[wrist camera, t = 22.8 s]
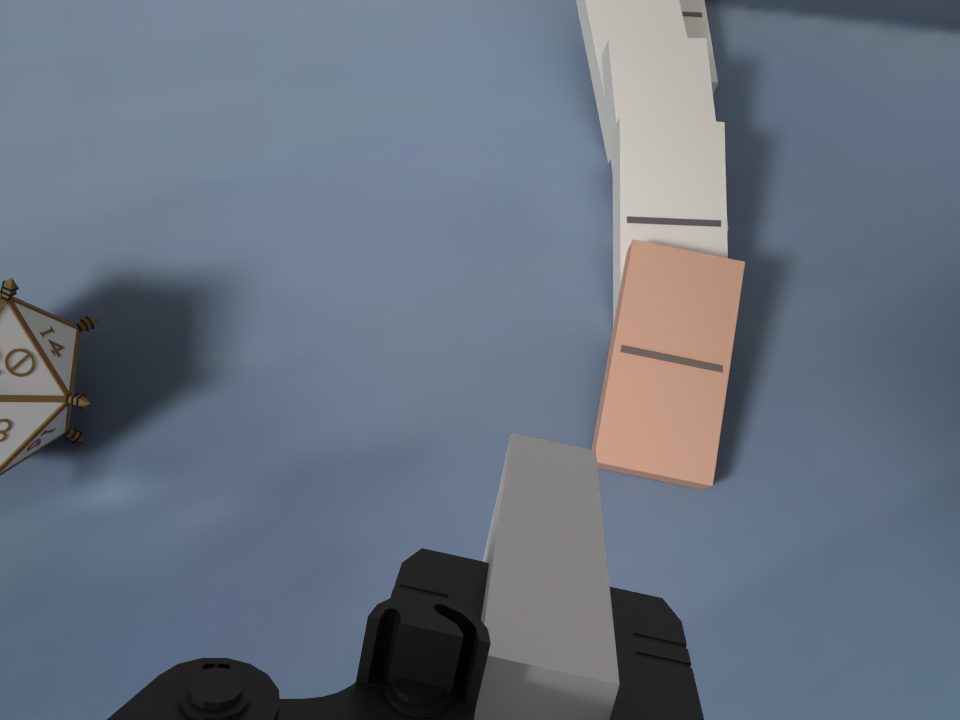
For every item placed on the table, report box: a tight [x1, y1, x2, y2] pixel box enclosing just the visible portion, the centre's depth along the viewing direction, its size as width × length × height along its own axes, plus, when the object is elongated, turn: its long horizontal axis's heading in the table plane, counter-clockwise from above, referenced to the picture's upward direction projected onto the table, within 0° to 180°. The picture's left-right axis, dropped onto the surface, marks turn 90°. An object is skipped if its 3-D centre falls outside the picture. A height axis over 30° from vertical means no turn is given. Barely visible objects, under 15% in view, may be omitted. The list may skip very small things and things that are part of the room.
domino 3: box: [613, 117, 728, 326], centre depth 43 cm, size 2×5×10 cm
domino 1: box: [576, 0, 687, 164], centre depth 48 cm, size 2×5×10 cm
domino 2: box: [601, 38, 729, 232], centre depth 46 cm, size 2×5×10 cm
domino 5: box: [679, 0, 718, 94], centre depth 52 cm, size 2×5×10 cm
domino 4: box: [592, 239, 745, 490], centre depth 40 cm, size 2×5×10 cm
